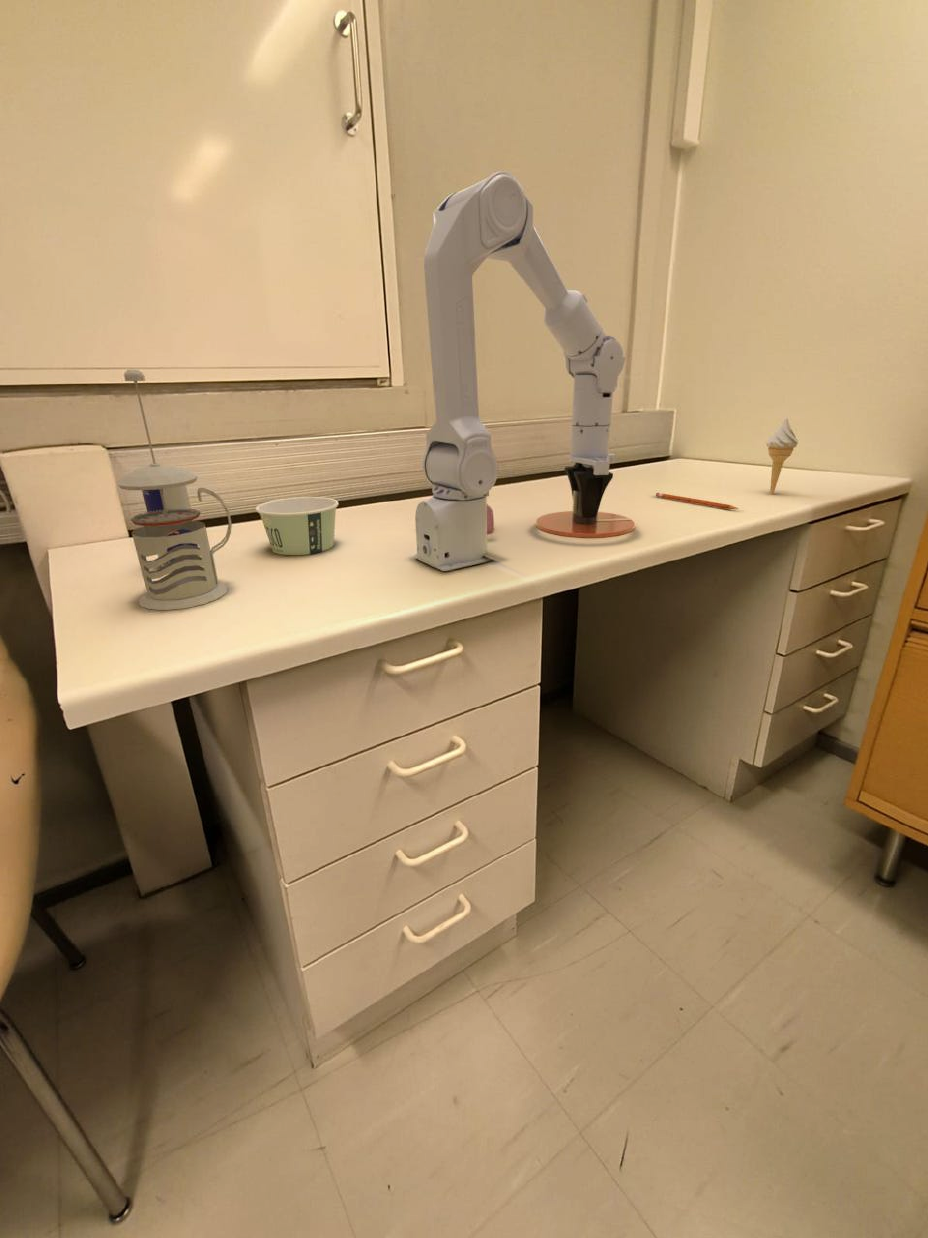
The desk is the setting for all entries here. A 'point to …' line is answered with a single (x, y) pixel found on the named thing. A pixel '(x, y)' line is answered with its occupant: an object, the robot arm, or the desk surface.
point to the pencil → (696, 501)
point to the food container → (299, 524)
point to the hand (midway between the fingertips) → (585, 514)
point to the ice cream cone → (780, 450)
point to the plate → (584, 523)
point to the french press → (172, 538)
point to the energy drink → (172, 500)
